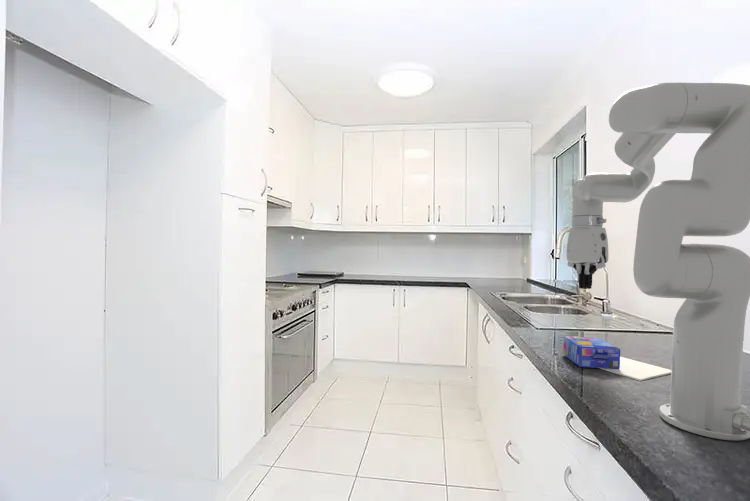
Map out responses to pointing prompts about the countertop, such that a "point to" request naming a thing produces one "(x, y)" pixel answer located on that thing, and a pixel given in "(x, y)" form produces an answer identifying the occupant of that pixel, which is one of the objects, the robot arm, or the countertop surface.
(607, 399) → the countertop surface
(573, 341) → the ink cartridge box
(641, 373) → the cream mat
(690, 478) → the countertop surface
